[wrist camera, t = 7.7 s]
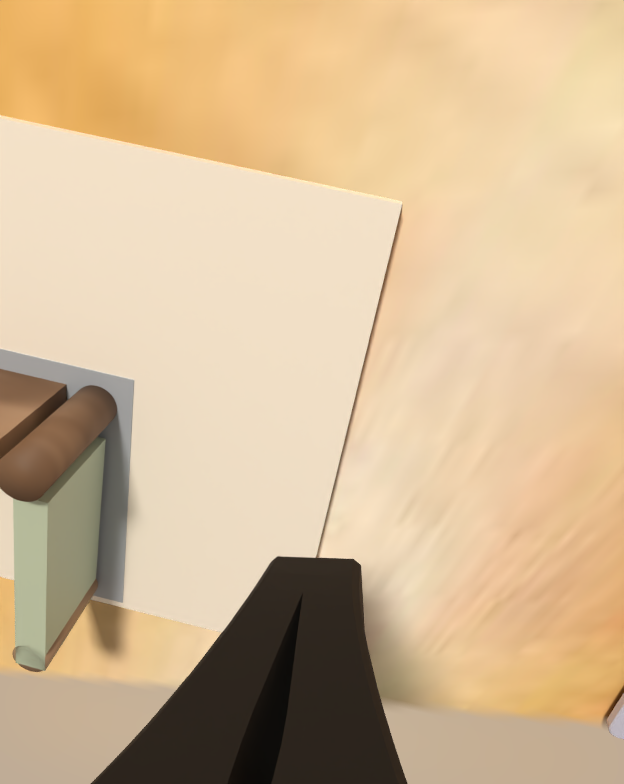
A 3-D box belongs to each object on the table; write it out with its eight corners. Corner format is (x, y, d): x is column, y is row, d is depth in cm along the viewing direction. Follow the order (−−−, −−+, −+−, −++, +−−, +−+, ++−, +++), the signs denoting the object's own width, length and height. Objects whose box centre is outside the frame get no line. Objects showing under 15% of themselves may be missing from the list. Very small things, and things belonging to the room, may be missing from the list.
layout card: (402, 201, 16) (402, 204, 15) (295, 640, 23) (292, 651, 23) (-169, 79, 16) (-185, 78, 16) (-92, 542, 24) (-102, 551, 24)
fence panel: (73, 430, 19) (9, 493, 16) (108, 439, 19) (51, 504, 16) (66, 588, 23) (12, 665, 20) (97, 597, 23) (47, 675, 20)
